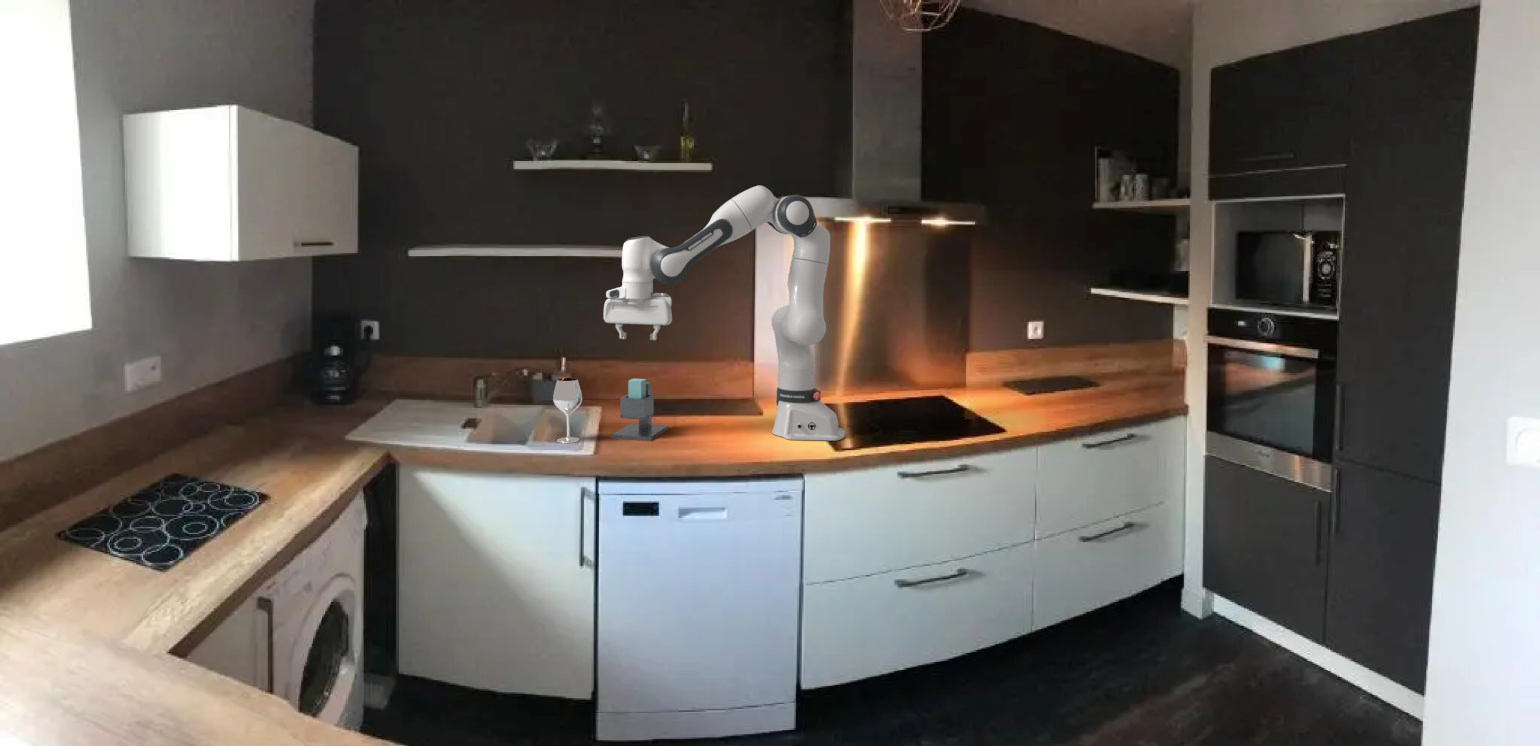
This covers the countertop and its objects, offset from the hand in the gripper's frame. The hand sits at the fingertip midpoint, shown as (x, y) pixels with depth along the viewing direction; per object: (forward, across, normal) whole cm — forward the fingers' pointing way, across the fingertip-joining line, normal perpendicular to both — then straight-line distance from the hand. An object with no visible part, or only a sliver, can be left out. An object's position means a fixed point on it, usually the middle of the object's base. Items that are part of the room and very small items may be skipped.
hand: (638, 339), depth 253 cm
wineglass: (+29, +17, +11) cm, 36 cm away
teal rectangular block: (+22, 0, 0) cm, 22 cm away
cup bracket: (+29, 0, -3) cm, 29 cm away
